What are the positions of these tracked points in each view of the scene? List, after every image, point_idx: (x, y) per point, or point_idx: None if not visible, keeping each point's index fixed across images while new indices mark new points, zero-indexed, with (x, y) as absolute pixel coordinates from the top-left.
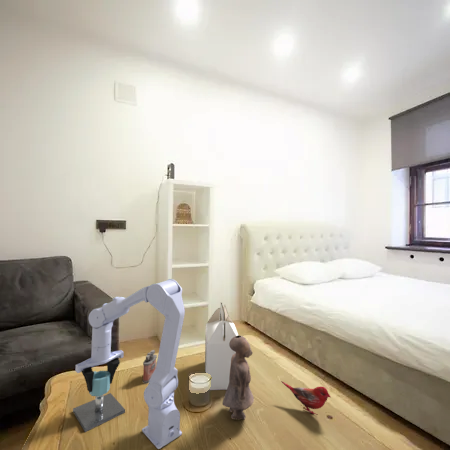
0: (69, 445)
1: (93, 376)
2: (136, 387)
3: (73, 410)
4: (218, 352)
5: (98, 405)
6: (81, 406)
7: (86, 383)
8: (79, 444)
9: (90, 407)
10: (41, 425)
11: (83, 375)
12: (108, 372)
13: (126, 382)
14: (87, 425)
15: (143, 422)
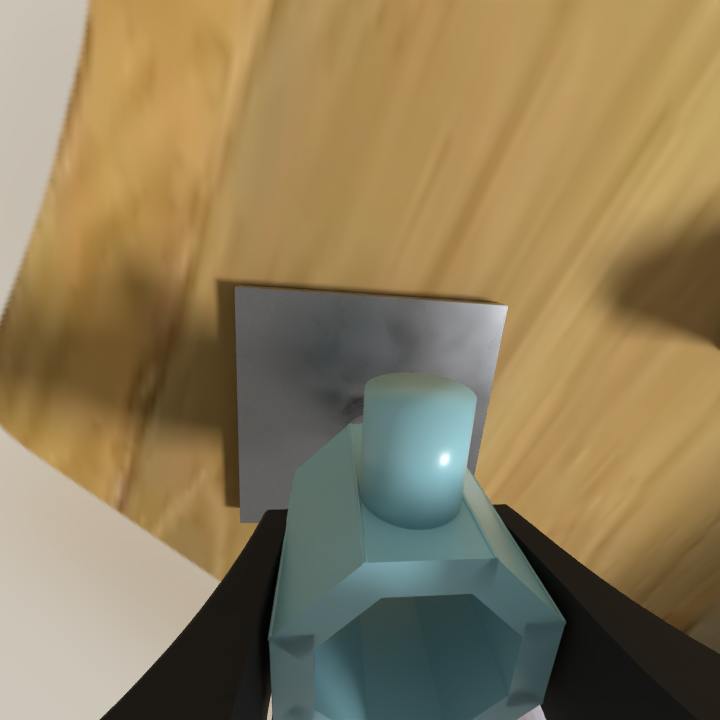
0: (160, 540)
1: (334, 619)
2: (659, 344)
3: (236, 300)
4: None
5: None
6: (289, 309)
7: (235, 568)
8: (200, 562)
9: (331, 367)
10: (34, 274)
11: (131, 694)
12: (540, 675)
13: (674, 224)
14: (257, 509)
15: None
